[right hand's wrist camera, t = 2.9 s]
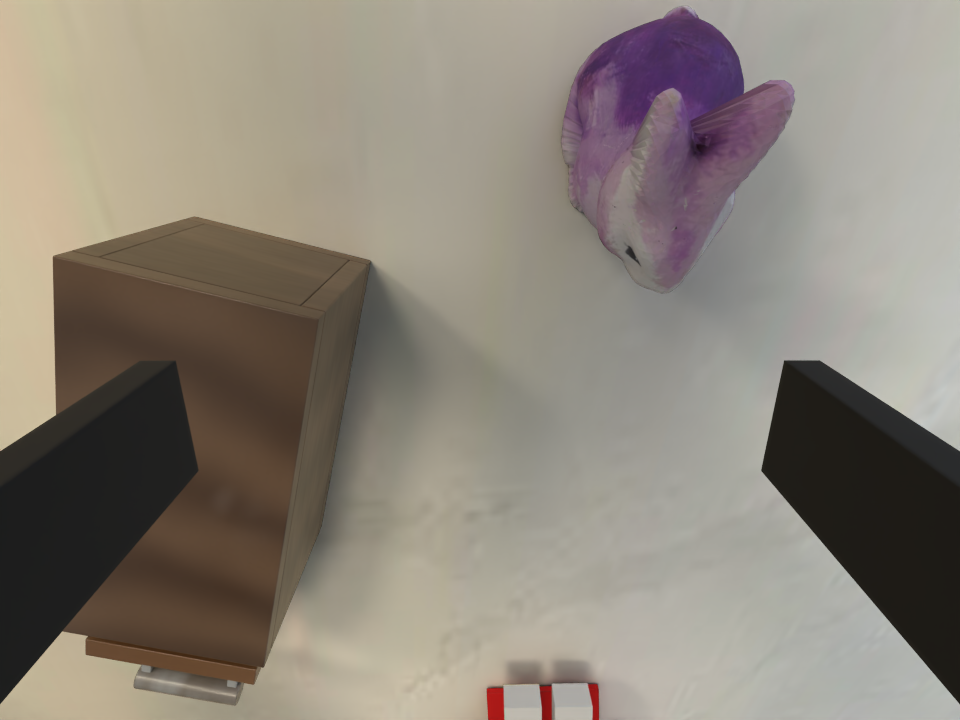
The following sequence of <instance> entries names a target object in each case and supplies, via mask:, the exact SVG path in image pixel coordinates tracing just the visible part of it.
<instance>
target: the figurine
mask: <svg viewBox="0 0 960 720" xmlns="http://www.w3.org/2000/svg"><path fill="white" fill-rule="evenodd" d="M794 101H795V98H794V89H793V87H792V85H791V84H789V83H788V82H786V81H785V80H770V81H768V82H766V83H764V84H762V85H760V86H758V87H756V88H754V89H752V90H750V91H748V92H746V93H744V79H743V75H742V70H741V66H740V61H739V58H738V55H737V53H736V52H735V50H734V48H733V46H732V45H731V43H730V42H729V41H728V40H727V39H726V37H725V36H724V35H723V34H722V33H721V32H720V31H719V30H717V29H716V28H715V27H714V26H712V25H711V24H709V23H707V22H705V21H703V20H701V19H699V18H698V16H697V14H696V12H695V11H694V10H693V9H692V8H690V7H689V6H680V7H677V8H675V9H673V10H671V11H669V12H668V13H667V14H666V15H665V17H664V18H663V19H658V20H655V21H652V22H649V23H646V24H643V25H641V26H638V27H636V28H633V29H631V30H628V31H626V32H624V33H622V34H620V35H618V36H616V37H614V38H612V39H610V40H608V41H607V42H605V43H603V44H602V45H601V46H600V47H599V48H598V49H595V50H594V51H593V53H592V54H591V55H590V56H589V57H588V58H587V59H586V61H585V62H584V63H583V65H582V66H581V67H580V69H579V71H578V73H577V75H576V77H575V80H574V83H573V85H572V87H571V91H570V96H569V100H568V104H567V108H566V112H565V116H564V121H563V128H562V138H561V145H562V150H563V156H564V160H565V163H566V164H568V166H569V168H570V169H569V187H568V192H569V198H570V201H571V203H572V205H573V207H574V208H577V209H578V210H579V211H580V212H583V213H584V214H585V215H586V217H587V218H588V220H589V221H590V223H591V224H592V225H593V226H594V227H595V228H597V229H598V234H599V237H600V239H601V241H602V243H603V245H604V246H605V247H606V248H607V249H608V250H609V251H610V252H611V253H613V254H615V255H616V256H618V257H619V258H620V259H622V261H623V263H624V264H625V266H626V269H627V271H628V273H629V274H630V276H631V277H632V279H633V280H634V281H635V282H636V283H637V284H639V285H640V286H642V287H645V288H647V289H651V290H653V291H656V292H659V293H668V292H671V291H673V290H674V289H675V288H676V287H677V286H679V285H680V283H681V282H682V281H683V279H684V278H685V276H686V275H687V274H688V273H689V272H690V270H691V269H692V268H693V267H694V265H695V264H696V262H697V261H698V259H699V258H700V256H701V255H702V254H703V252H704V251H705V249H706V248H707V246H708V245H709V244H710V242H711V240H712V239H713V238H714V236H715V235H716V234H717V233H718V231H719V230H720V229H721V228H722V226H723V224H724V223H725V221H726V220H727V218H728V216H729V215H730V213H731V211H732V209H733V205H734V200H735V190H736V189H737V188H738V186H739V185H740V183H741V182H742V181H743V180H745V179H746V178H747V177H748V175H749V173H750V172H751V171H752V170H753V169H754V168H755V167H756V166H757V164H758V163H759V162H760V161H761V159H762V158H763V157H764V156H765V155H766V153H767V151H768V150H769V148H770V147H771V146H772V145H773V144H774V143H775V141H776V140H777V139H778V136H779V135H780V134H781V132H782V131H783V130H784V128H785V124H786V123H787V121H788V120H789V118H790V115H791V112H792V108H793V105H794Z"/></svg>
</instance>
